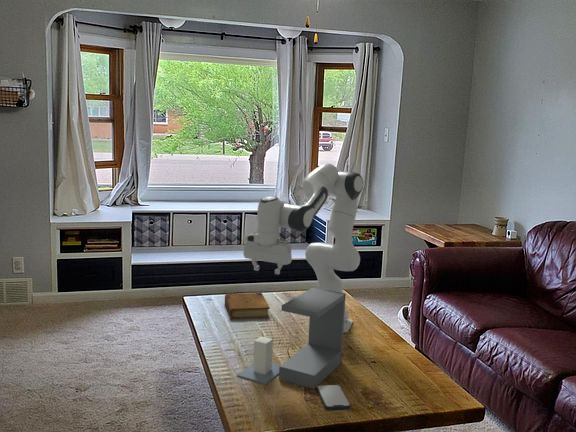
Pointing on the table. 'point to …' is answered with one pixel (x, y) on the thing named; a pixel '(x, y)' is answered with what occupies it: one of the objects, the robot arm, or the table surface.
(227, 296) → the diary
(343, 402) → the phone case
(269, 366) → the block
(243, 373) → the mat
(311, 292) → the grey c-shaped bracket
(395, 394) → the table surface
